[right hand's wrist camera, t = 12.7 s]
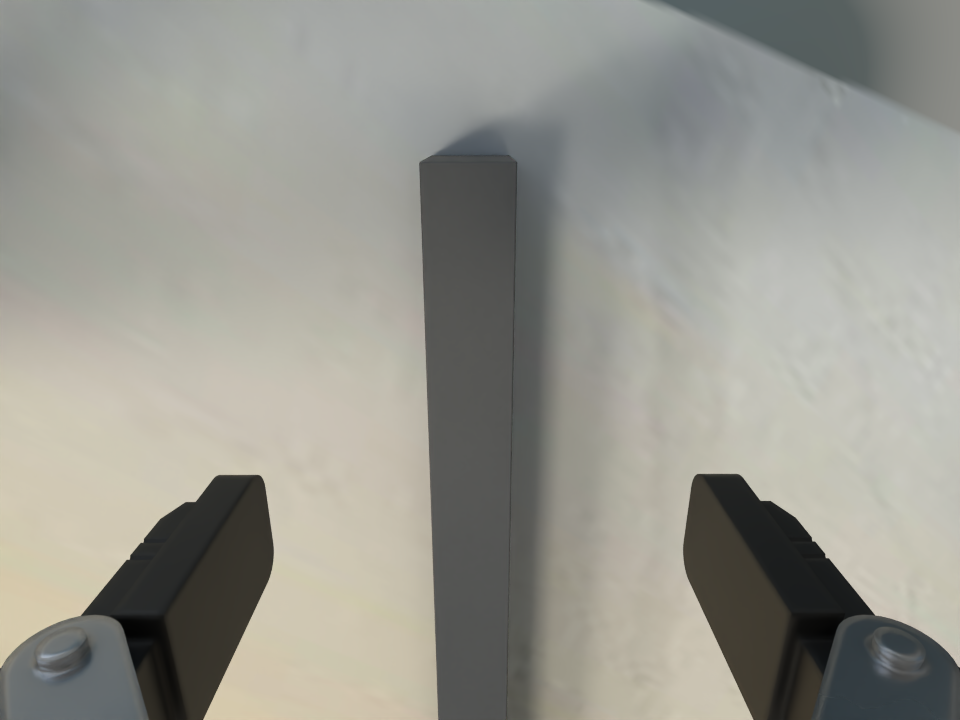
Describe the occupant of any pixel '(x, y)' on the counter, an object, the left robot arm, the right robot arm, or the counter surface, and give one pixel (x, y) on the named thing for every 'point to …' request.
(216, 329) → the counter surface
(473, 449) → the beam
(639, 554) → the counter surface
